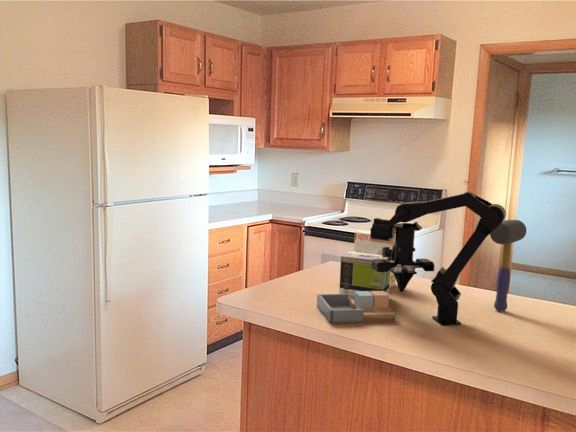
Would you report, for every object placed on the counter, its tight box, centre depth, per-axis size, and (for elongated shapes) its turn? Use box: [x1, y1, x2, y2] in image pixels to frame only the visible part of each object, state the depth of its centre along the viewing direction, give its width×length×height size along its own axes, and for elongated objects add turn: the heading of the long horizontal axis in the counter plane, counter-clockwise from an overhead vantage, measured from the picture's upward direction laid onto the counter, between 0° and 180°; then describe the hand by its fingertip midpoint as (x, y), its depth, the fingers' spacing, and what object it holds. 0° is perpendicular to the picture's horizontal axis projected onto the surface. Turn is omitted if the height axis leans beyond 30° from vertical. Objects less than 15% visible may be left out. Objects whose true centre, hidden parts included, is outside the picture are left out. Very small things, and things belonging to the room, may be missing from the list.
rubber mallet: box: [489, 219, 527, 313], centre depth 172 cm, size 12×8×30 cm, turn 133°
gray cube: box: [354, 291, 374, 308], centre depth 165 cm, size 4×4×4 cm
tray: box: [316, 293, 364, 325], centre depth 164 cm, size 16×10×4 cm, turn 11°
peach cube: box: [370, 291, 390, 308], centre depth 166 cm, size 4×4×4 cm
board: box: [348, 298, 397, 324], centre depth 166 cm, size 16×10×2 cm, turn 11°
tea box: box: [338, 251, 391, 298], centre depth 182 cm, size 15×10×15 cm, turn 65°
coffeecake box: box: [353, 229, 397, 289], centre depth 200 cm, size 15×7×20 cm, turn 58°
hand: (401, 292), depth 167 cm, fingers closed
